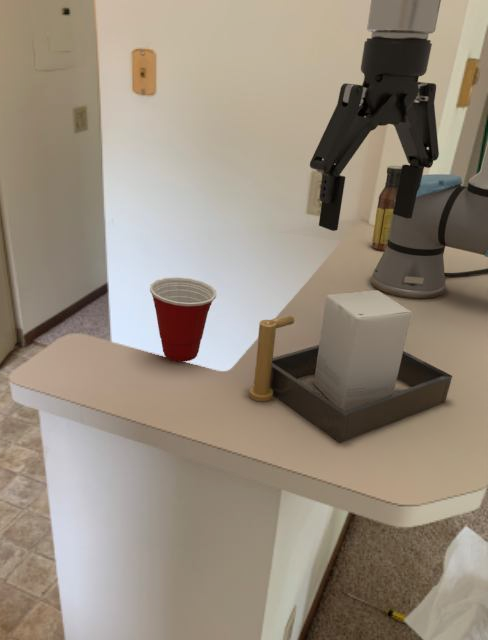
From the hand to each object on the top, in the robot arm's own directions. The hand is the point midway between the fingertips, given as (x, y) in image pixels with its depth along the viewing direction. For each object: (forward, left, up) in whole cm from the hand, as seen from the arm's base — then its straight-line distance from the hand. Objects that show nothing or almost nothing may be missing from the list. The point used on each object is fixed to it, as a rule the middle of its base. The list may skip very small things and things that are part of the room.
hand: (366, 222), depth 81 cm
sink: (+1, +2, -26) cm, 26 cm away
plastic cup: (+15, -22, -26) cm, 37 cm away
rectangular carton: (-1, +2, -26) cm, 26 cm away
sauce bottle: (-61, -48, -26) cm, 82 cm away
